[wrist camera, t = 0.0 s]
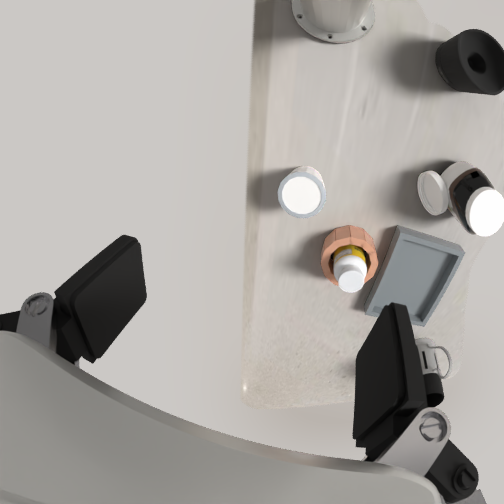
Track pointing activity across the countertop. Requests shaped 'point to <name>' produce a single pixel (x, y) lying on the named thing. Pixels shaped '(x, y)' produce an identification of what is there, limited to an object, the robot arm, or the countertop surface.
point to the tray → (414, 274)
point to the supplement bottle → (350, 267)
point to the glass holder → (432, 370)
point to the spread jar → (463, 197)
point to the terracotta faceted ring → (347, 237)
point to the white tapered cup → (302, 192)
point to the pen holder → (472, 63)
